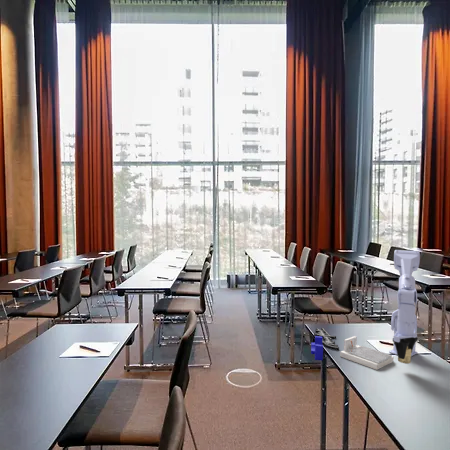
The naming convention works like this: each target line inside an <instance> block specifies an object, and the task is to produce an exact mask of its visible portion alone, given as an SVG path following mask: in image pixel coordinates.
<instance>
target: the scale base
mask: <svg viewBox="0 0 450 450" xmlns="http://www.w3.org/2000/svg"><path fill="white" fill-rule="evenodd" d="M357 343H358V336H356V335H353V336H351V337H347V338H346V339H344V340H343V350H341V351H340V352H339V357H340V358H343V359H346V360H349V361H351V362H354V363H356V364H359V365H362V366H365V367H368V368H371V369H374V370H379V369H382V368H383V367H385V366H388V365H390V364H392V363H393V362H394V356H392V357H391V358H389V359H387V360H385V361H383V362H381V363H377V362H374V361H371V360H368V359H365V358H362V357H359V356H357V355H354V354H351V353H349V351H350V350H352V349H355V348H358V347H360V346H361V345H359V344H357Z"/></svg>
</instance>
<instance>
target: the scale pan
mask: <svg viewBox="0 0 450 450" xmlns="http://www.w3.org/2000/svg"><path fill="white" fill-rule="evenodd" d="M359 346H360V347H358V348H355V349H352V350H350V351H349V353H351V354H354V355H357V356H359V357H362V358H365V359H368V360H371V361H374V362H377V363H381V362H383V361H385V360H387V359H389V358H391V357H392V354H389V353H385V352H382V351H380V350H376V349H374V348H371V347H367V346H365V345H359Z"/></svg>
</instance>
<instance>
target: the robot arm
mask: <svg viewBox="0 0 450 450" xmlns="http://www.w3.org/2000/svg"><path fill="white" fill-rule="evenodd" d="M420 259H421V252H420V251H419V250H406V249H405V250H403V249H395V250H394V253H393V266H394V269H395V270H397V271H398V273H399V278H398V290H397V296H396V297H397V300H396V301H397V309H396V310H394V311H393V312H392V313H391V322H390V329H391V330H392V332H393V336H392V342H393V349H391V350H389V353H390V354H393V355H396V356H397V359H398V358H401V359H404V358H405V355H406V350H407V347H409V348H411V357H412V356H415V355H417V354H418V353H419V352H418V351H416V344H417V341H418V339H419V337H418V334H417V332H418V331H417V330H418V320H417V318H418V316H417V315H416V306H417V303H418V292H417V288H416V278H415V277H414V276H412V275H413V272H417V271H418V269H419V266H420V262H421V260H420Z"/></svg>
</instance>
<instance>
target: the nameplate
mask: <svg viewBox="0 0 450 450" xmlns="http://www.w3.org/2000/svg"><path fill="white" fill-rule="evenodd" d="M314 332H315V333H313V336H314V337H315V336H321V337H322V345H323V347H325V348H327V349H329V350H334V351H340V347H339V345H338V344H336V341H335V340H336V339H337V336H336V335H331V334H330V333H329V331H327V330H326V329H325V328H324V327H321V329H319V328H315V331H314Z"/></svg>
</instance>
